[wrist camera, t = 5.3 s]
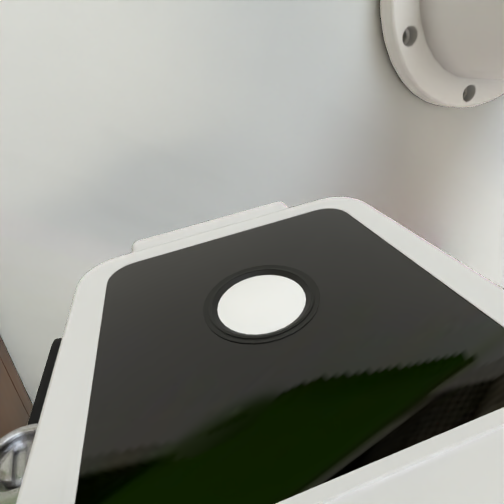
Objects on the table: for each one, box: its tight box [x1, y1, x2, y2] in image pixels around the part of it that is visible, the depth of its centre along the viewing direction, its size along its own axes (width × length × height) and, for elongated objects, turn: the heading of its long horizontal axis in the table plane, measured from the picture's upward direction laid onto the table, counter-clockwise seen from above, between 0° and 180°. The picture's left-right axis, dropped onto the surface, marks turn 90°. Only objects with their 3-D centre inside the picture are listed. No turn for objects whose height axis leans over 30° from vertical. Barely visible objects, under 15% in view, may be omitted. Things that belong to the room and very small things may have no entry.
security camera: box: [16, 197, 504, 504], centre depth 9 cm, size 6×7×10 cm
